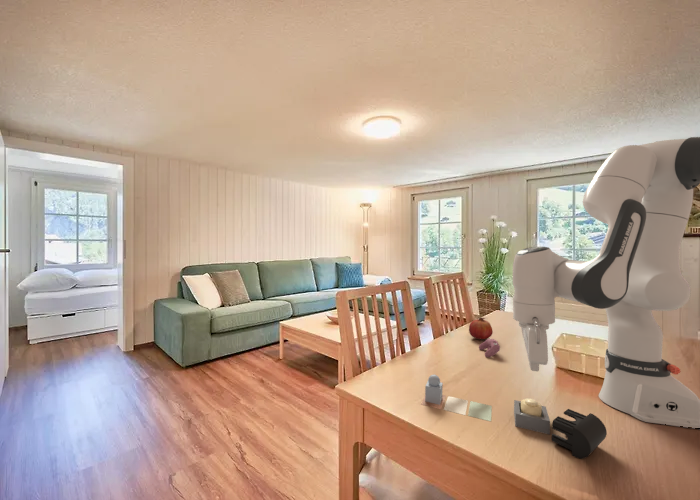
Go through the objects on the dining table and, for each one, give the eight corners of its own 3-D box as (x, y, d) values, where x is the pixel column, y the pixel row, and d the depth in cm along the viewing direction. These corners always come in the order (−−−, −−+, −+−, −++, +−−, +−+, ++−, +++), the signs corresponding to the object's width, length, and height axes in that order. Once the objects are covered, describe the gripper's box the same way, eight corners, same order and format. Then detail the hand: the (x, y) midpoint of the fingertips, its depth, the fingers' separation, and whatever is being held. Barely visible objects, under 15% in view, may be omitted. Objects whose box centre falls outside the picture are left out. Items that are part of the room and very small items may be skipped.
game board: (492, 406, 84) (492, 404, 84) (492, 426, 75) (492, 423, 75) (426, 391, 92) (426, 389, 92) (418, 408, 83) (418, 405, 83)
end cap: (589, 468, 61) (590, 435, 61) (550, 448, 67) (551, 418, 67) (606, 449, 67) (607, 419, 67) (568, 432, 73) (569, 404, 73)
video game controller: (495, 362, 119) (504, 346, 118) (484, 356, 120) (493, 340, 119) (487, 353, 129) (495, 338, 128) (477, 347, 129) (485, 333, 129)
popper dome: (540, 417, 77) (540, 399, 76) (542, 426, 73) (542, 407, 72) (519, 412, 78) (520, 395, 78) (521, 422, 74) (521, 403, 74)
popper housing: (545, 421, 77) (545, 406, 77) (549, 437, 71) (550, 421, 71) (513, 414, 80) (514, 400, 80) (515, 428, 74) (515, 413, 74)
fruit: (486, 335, 147) (486, 315, 147) (497, 342, 138) (497, 320, 137) (464, 335, 147) (465, 315, 146) (474, 342, 137) (474, 320, 137)
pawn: (442, 398, 87) (442, 373, 86) (439, 404, 83) (440, 379, 83) (428, 394, 88) (428, 371, 88) (425, 401, 85) (425, 376, 85)
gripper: (555, 325, 64) (556, 390, 65) (543, 305, 83) (544, 356, 83) (521, 322, 67) (522, 384, 67) (516, 304, 85) (517, 353, 86)
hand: (534, 368), depth 75 cm, fingers closed
